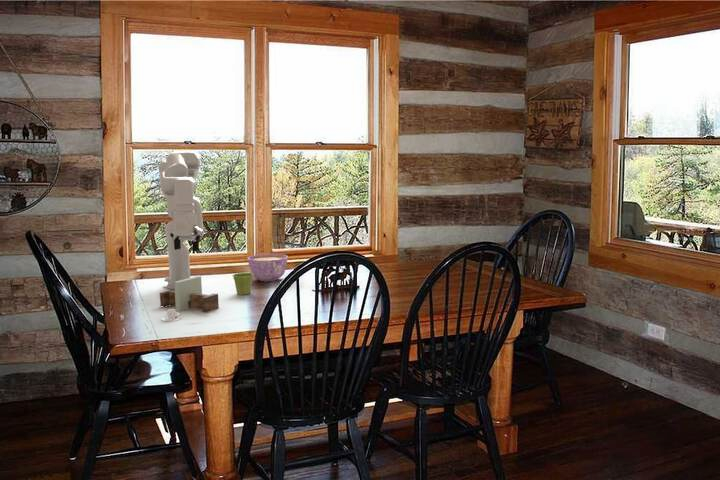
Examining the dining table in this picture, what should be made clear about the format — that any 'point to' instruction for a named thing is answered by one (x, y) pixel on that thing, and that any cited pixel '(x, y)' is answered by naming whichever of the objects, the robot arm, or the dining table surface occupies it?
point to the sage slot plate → (186, 291)
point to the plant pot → (243, 283)
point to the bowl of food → (267, 266)
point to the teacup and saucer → (172, 313)
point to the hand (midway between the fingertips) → (186, 249)
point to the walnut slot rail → (197, 300)
